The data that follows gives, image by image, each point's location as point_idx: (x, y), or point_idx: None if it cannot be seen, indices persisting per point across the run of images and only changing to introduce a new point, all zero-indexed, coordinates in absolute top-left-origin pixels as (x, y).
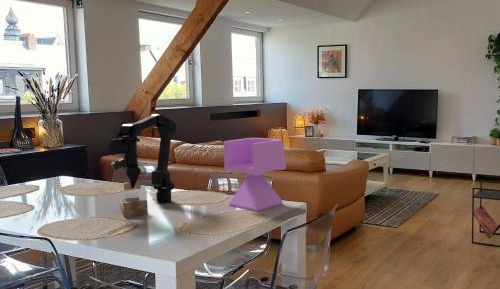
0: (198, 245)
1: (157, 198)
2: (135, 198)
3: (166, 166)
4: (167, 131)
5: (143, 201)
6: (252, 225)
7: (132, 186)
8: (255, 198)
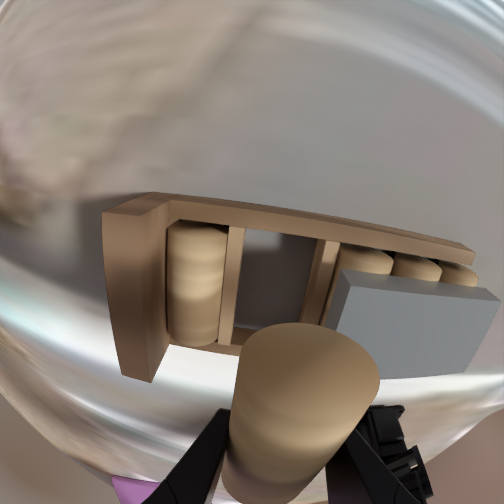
0: None
1: (374, 422)
2: None
3: None
4: None
5: (117, 355)
6: (23, 416)
7: (207, 429)
8: (121, 499)
